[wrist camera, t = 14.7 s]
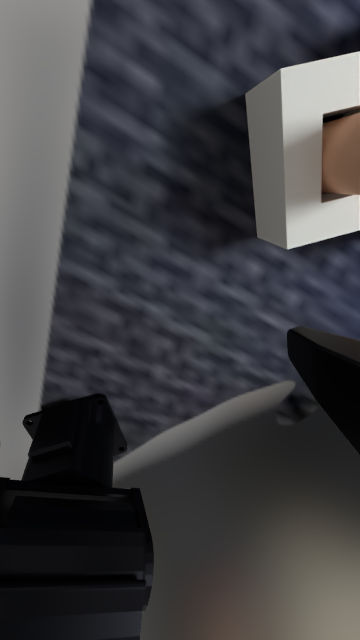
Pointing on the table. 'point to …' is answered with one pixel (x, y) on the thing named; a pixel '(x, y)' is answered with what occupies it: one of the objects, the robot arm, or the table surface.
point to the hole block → (300, 150)
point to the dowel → (341, 156)
